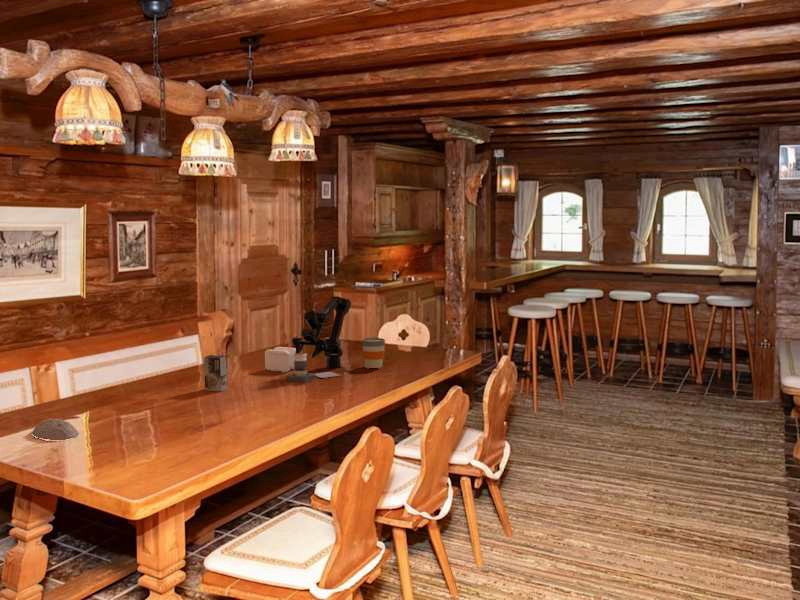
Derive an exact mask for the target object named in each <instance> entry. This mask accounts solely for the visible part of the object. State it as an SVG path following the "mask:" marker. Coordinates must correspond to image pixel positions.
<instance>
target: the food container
mask: <svg viewBox="0 0 800 600" xmlns="http://www.w3.org/2000/svg"><path fill="white" fill-rule="evenodd" d="M31 434H33V435H34V436H36V437H38V438H43V439H50V440H66V439H70V438H75V437H77V436H78V435H79V436H80V433H79V431H78V430H77V429H76V428H75V427H74V426H73V424H71V422H69V421H65V420H63V419H61V418H49V417H48V418H47V419H45V420H42V421H40V422H39V423H38V424H37V425H36V426H35V427H34V428H33V429H32V432H31ZM79 436H78V437H79ZM78 437H77V438H78ZM75 439H76V438H75Z"/></svg>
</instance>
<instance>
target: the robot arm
mask: <svg viewBox="0 0 800 600" xmlns="http://www.w3.org/2000/svg"><path fill="white" fill-rule="evenodd" d="M351 306H352V301H351V300H350V299H349V298H344V297H342V296H338V295H337V296H335V295H334V296H331V297H330V299H329V300H328V301H327V303H326V304H325V305H324V307H323V308H322V309H319V310H316V312H315V310H310V311H308V312H307V313H306V314H305V315H304V318H303V319H305V321H306V324H307V325H308V327H310V329H309V328H308V329H307V328H302V329H301V333H300V335H301V336H302V337H303V339H304V340H302V338H301V337H293V338H292V339H291V343H292V344H293V346H294V347H295V349H296V353H302V351H303V347H304V346H312V347H313V346H314V349H313V352H312V354H311V358H312V359H314V358H315V357H316V356H318V355H319V354H320V353H322V352H324V356H325V357H327V358H326V365H325V367H327V368H329V369H337V368H338V367H339V368H342V367H343V366H342V365H341V357H343V354H344V351H343V349H342V347H341V342H340V337H341V332H342V328H343V324H344V321H345V316H346V314H348V313H349V312H350V309H351ZM333 311H335V316H334V321H333V324H332V328H331V332H330V336H329V337H328V338H325V339H321V337H320V335H321V333H322V332H324V331H325V328H324V325H323V324H328V322H329V320H330V318H331V316H330V315H331V314H332V313H333ZM339 368H338V369H339Z"/></svg>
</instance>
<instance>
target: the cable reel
mask: <svg viewBox="0 0 800 600" xmlns="http://www.w3.org/2000/svg"><path fill="white" fill-rule="evenodd" d="M307 357H308V353H305V352H300V353H295V354H294V369H293V370H294V373H295V376H299V377H305V376H307V373H308V360H307Z"/></svg>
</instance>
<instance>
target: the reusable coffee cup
mask: <svg viewBox="0 0 800 600" xmlns="http://www.w3.org/2000/svg"><path fill="white" fill-rule="evenodd" d="M361 346H362V355H363V359H364V365H365V366H364V367H365V368H366V369H369V368H378V369H382V368H383V364H384V363H383V361H384V359H385V352H386V350H385V346H386V339H385V338H381V337H367V338H363V339H362V342H361ZM381 367H382V368H381Z"/></svg>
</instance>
